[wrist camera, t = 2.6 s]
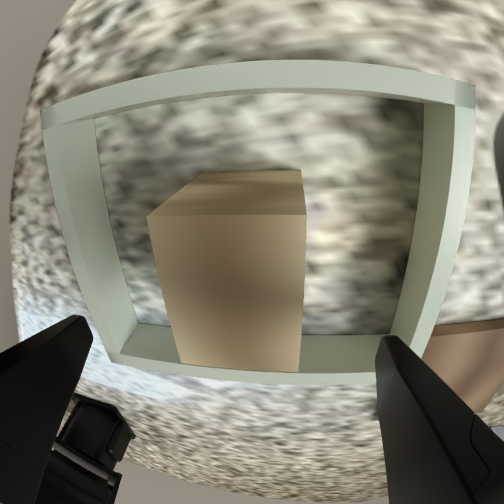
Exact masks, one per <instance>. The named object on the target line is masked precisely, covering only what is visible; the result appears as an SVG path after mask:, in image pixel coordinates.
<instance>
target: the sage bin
mask: <svg viewBox="0 0 504 504" xmlns="http://www.w3.org/2000/svg"><path fill="white" fill-rule="evenodd" d="M261 93H328V94H347V95H360V96H371V97H381V98H389V99H397V100H404V101H411V102H417V103H423V104H424V129H423V151H422V165H421V177H420V186H419V195H418V203H417V211H416V218H415V224H414V231H413V237H412V242H411V248H410V253H409V258H408V263H407V268H406V272H405V277H404V281H403V286H402V290H401V294H400V298H399V302H398V306H397V310H396V313H395V317H394V321H393V324H392V328H391V331H390V334H377V335H301V345H300V358H299V370H298V372H283V371H261V370H245V369H232V368H220V367H210V366H201V365H192V364H184V363H181V360H180V357H179V353H178V350H177V347H176V343H175V340H174V336H173V332H172V329H171V327H166V326H157V325H149V324H141V323H138V320H137V317H136V314H135V311H134V308H133V305H132V302H131V298H130V295H129V292H128V288H127V285H126V282H125V278H124V275H123V271H122V267H121V264H120V260H119V256H118V252H117V248H116V244H115V240H114V236H113V232H112V227H111V223H110V218H109V213H108V209H107V204H106V199H105V193H104V188H103V182H102V177H101V171H100V164H99V158H98V151H97V143H96V135H95V126H94V118H98V117H101V116H106V115H110V114H114V113H118V112H123V111H127V110H132V109H137V108H142V107H147V106H152V105H158V104H164V103H170V102H177V101H184V100H191V99H199V98H208V97H218V96H229V95H243V94H261ZM40 112H41V123H42V132H43V140H44V147H45V154H46V160H47V166H48V172H49V177H50V183H51V188H52V192H53V197H54V201H55V206H56V210H57V214H58V218H59V222H60V226H61V230H62V233H63V237H64V240H65V244H66V247H67V251H68V254H69V257H70V260H71V263H72V266H73V269H74V272H75V275H76V278H77V281H78V284H79V287H80V289H81V292H82V295H83V298H84V300H85V303H86V305H87V308H88V310H89V313H90V315H91V318H92V320H93V323H94V325H95V327H96V330H97V332H98V334H99V336H100V339H101V341H102V343H103V345H104V347H105V350H106V352H107V354H108V356H109V358H110V360H111V362H113V363H117V364H122V365H127V366H132V367H137V368H142V369H147V370H153V371H159V372H165V373H171V374H177V375H184V376H192V377H199V378H208V379H217V380H227V381H238V382H250V383H266V384H290V385H347V384H370V383H376V373H375V357H376V353H377V350H378V347H379V343H380V340H381V338H382V336H384V335H396V336H398V337H399V338H400V339H401V340H402V341H403V342H404V343H405V344H407V345H408V346H409V347H410V348H411V349H412V350H413V351H414V352H415V353H416V354H417V355H418V356H419V357H420V358H422V355H423V353H424V351H425V348H426V346H427V343H428V341H429V338H430V336H431V333H432V331H433V328H434V325H435V323H436V320H437V317H438V314H439V311H440V309H441V306H442V303H443V300H444V296H445V293H446V290H447V287H448V284H449V280H450V277H451V273H452V270H453V266H454V262H455V258H456V255H457V251H458V246H459V242H460V238H461V233H462V228H463V223H464V218H465V213H466V207H467V201H468V195H469V188H470V181H471V173H472V163H473V152H474V138H475V85H473V84H469V83H466V82H462V81H459V80H455V79H451V78H447V77H443V76H438V75H434V74H429V73H425V72H420V71H414V70H409V69H403V68H397V67H390V66H383V65H376V64H367V63H357V62H345V61H328V60H263V61H247V62H234V63H224V64H215V65H207V66H200V67H193V68H187V69H181V70H175V71H169V72H164V73H159V74H154V75H150V76H145V77H141V78H137V79H133V80H129V81H125V82H121V83H117V84H114V85H110V86H107V87H103V88H100V89H97V90H94V91H90V92H87V93H84V94H81V95H78V96H75V97H73V98H70V99H67V100H64V101H62V102H59V103H56V104H54V105H51V106H49V107H46V108H44V109H42V110H40Z"/></svg>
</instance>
